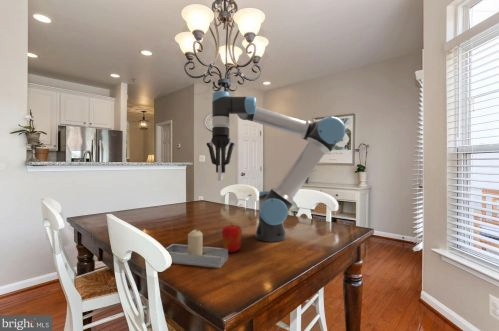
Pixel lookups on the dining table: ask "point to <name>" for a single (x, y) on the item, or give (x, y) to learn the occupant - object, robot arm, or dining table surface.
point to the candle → (195, 242)
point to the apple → (232, 237)
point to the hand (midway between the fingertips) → (220, 180)
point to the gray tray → (198, 256)
